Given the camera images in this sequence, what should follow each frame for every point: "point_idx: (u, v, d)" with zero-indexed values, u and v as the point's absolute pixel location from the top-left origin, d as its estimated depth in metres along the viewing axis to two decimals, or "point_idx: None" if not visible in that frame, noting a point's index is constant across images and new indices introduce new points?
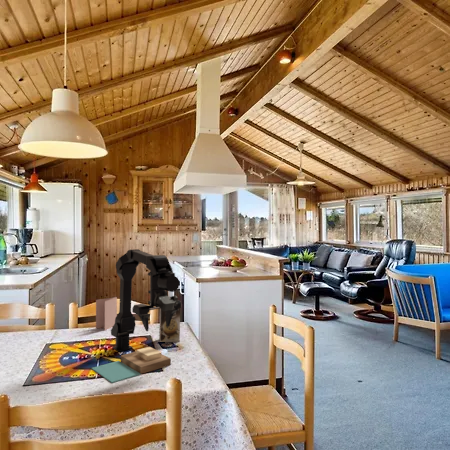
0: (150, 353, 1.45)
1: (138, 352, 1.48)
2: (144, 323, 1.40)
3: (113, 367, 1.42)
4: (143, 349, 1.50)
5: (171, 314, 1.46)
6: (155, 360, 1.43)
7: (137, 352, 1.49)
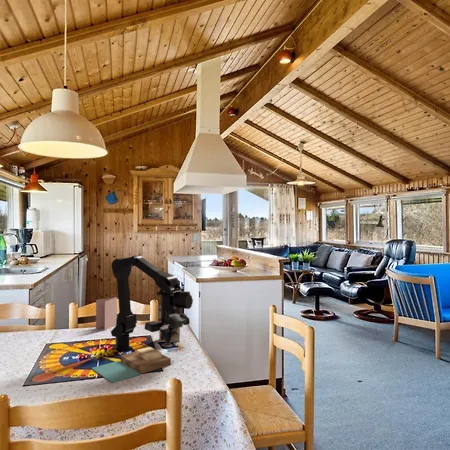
0: (150, 353, 1.45)
1: (138, 352, 1.48)
2: (165, 337, 1.53)
3: (113, 367, 1.42)
4: (143, 349, 1.50)
5: (171, 332, 1.54)
6: (155, 360, 1.43)
7: (137, 352, 1.49)
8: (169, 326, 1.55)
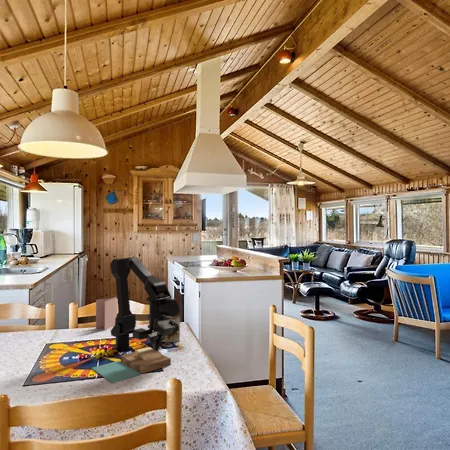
0: (149, 353, 1.45)
1: (137, 352, 1.48)
2: (153, 344, 1.50)
3: (113, 367, 1.42)
4: (142, 349, 1.50)
5: (160, 339, 1.50)
6: (155, 360, 1.43)
7: (136, 352, 1.48)
8: (158, 333, 1.51)
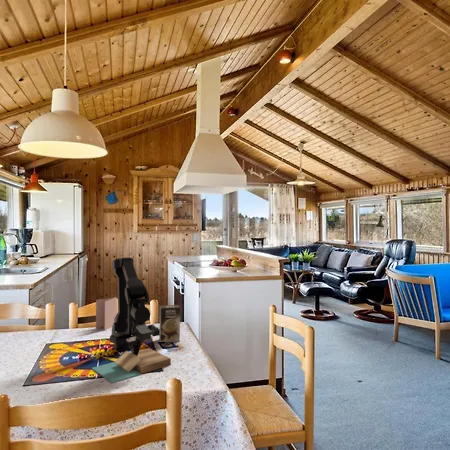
0: (128, 363, 1.39)
1: (117, 364, 1.42)
2: (132, 349, 1.43)
3: (113, 367, 1.42)
4: (121, 358, 1.43)
5: (139, 344, 1.44)
6: (155, 360, 1.43)
7: (116, 364, 1.42)
8: (137, 338, 1.45)
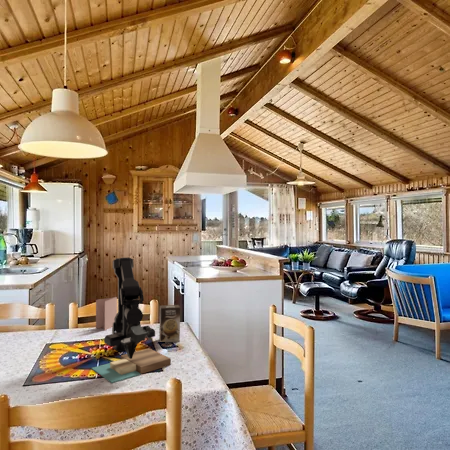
0: (124, 366, 1.38)
1: (112, 365, 1.40)
2: (127, 351, 1.42)
3: None
4: (117, 361, 1.42)
5: (134, 345, 1.42)
6: (155, 360, 1.43)
7: (111, 365, 1.41)
8: None
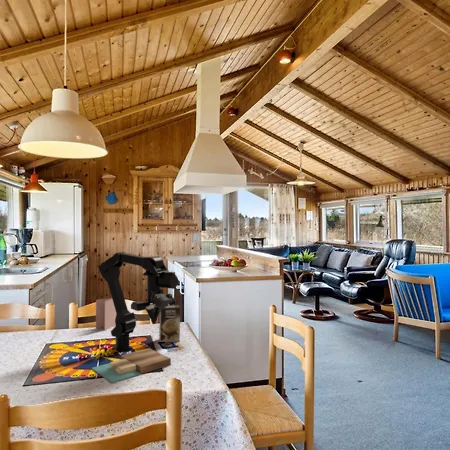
0: (124, 366, 1.38)
1: (112, 365, 1.40)
2: (151, 317, 1.56)
3: None
4: (117, 361, 1.42)
5: (157, 312, 1.56)
6: (155, 360, 1.43)
7: (111, 365, 1.41)
8: (155, 306, 1.57)
